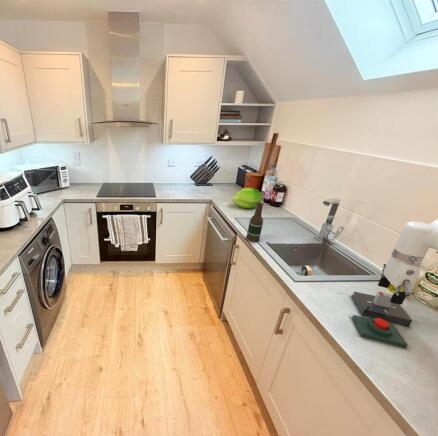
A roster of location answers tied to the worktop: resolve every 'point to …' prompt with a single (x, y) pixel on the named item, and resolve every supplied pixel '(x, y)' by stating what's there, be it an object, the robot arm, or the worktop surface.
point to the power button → (381, 323)
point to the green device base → (378, 331)
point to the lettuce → (247, 198)
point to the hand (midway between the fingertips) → (388, 294)
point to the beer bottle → (255, 225)
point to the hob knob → (382, 299)
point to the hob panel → (380, 310)
